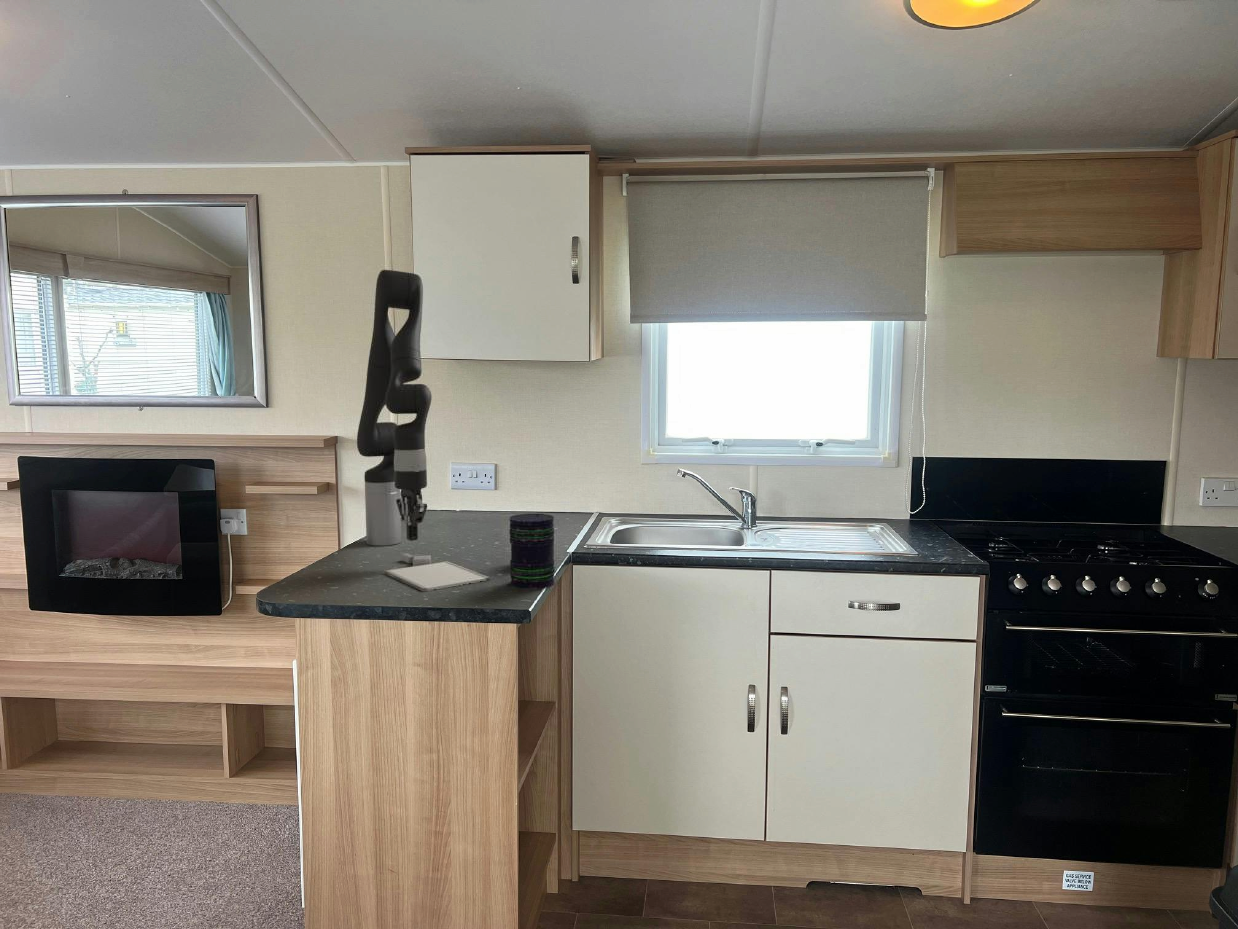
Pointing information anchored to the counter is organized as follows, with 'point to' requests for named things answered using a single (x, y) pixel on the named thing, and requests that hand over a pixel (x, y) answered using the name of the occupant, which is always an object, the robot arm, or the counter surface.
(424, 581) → the mat
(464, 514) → the counter surface
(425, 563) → the lighter
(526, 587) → the storage jar
